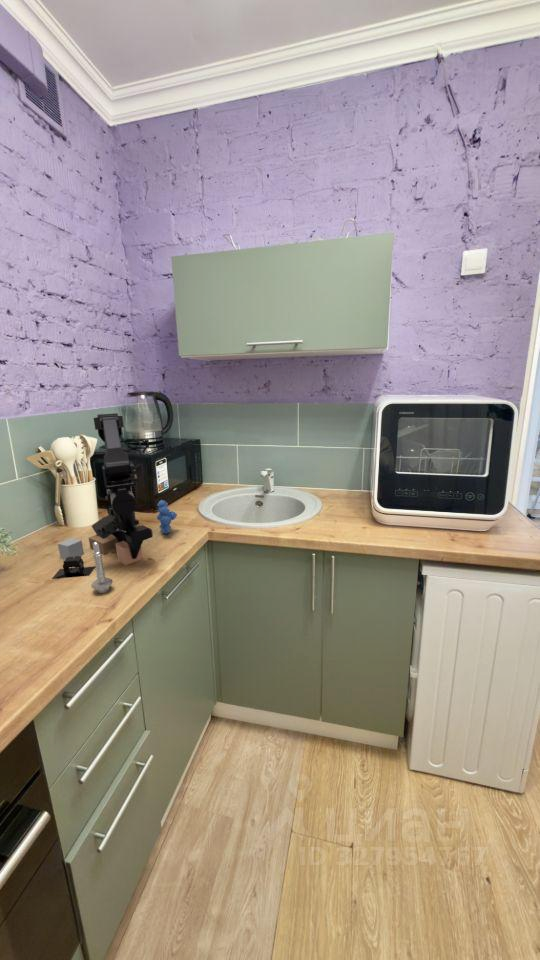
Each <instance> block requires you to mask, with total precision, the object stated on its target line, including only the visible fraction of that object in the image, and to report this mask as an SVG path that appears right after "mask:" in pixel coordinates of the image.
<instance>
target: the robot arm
mask: <svg viewBox="0 0 540 960" xmlns="http://www.w3.org/2000/svg"><path fill="white" fill-rule="evenodd" d="M96 416H97V417H93V423H94V430H95V431H97V434H98V437H99V438H100V439H101V441H102V442H104V447H105V455H104V456H103V464H102V465H101V469H102V475H103V476H102V477H103V482H104V489H105V490H106V495H105V503H106V505H105V506H106V508H107V509H106V510H107V515H106V516H104V517H102V518H101V519H99V520H97V521H96V522H95V523H93V524H92V525H91V528H92V530H93V531H94V533H95V534H96V535H97V536H99V537H101V538H102V539H104V538H107V537H108V536H109V535H113V536H115V538H116V540H117V542H118V543H119V542H122V541H125V542H127V543H128V546H129V549H130V553H131V556H132V559H135V558H137V555H138V553H139V550H140V547H141V548H142V545H143V543H144V541H146V540H148V539H151V538H153V537H154V533H153V529H151V528H150V527H149V526H145V525H143V524H141V525H140V520H139V519H137V518H136V511H138V506H137V501H136V499H135V495H134V493H133V490H132V486H136V485H137V483H136V482H138V476H137V471H136V466H135V465H134V463H133V462H132V461H130V459H129V453H127V452H125V450H124V451H123V447H122V443H121V442H122V441H121V437H122V435H123V431H122V430H123V429H122V428H125V425H124V418H123V415H119V414H118V412H117V413H116V412H113V413H100V414H97V415H96ZM137 525H139V526H137Z"/></svg>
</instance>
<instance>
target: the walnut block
mask: <svg viewBox="0 0 540 960" xmlns="http://www.w3.org/2000/svg"><path fill="white" fill-rule="evenodd" d="M88 540H89V542H88V543H89V548H90V550H93V551H94V549H93V543H94V542H97V543H99V550H101V555H102V556H106V555H109V554H111V553H114V552H117V550H116V543H118V542H117V540H116V538H115V536H113V535H109V536H108V537H107V538H104V539H102V538H101V537H99V536H97V534H96V535H92V536H90V537H88Z"/></svg>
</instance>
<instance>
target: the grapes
mask: <svg viewBox="0 0 540 960" xmlns="http://www.w3.org/2000/svg"><path fill="white" fill-rule="evenodd" d="M168 505H169V503H168V502H167V501H166V500H163V499H161V500H159V501H158V503H157V505H156V506H157V507H158V508H157V510H156V511H157V512H158V515H157V516H156V519H157V520H158V521H159V522H160V525H159V528H160V532H161V533H162V534H164V535H167V534H169V532H171V528H172V526H171V525H170V524H171V523H172V521H173V520H175V519H176V518H177V517H178V514H177V513H176V512H175V511H173V510H170V508H168Z"/></svg>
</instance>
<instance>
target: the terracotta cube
mask: <svg viewBox="0 0 540 960" xmlns="http://www.w3.org/2000/svg"><path fill="white" fill-rule="evenodd" d="M142 549H143V548H142V546H141V547H140V550H139V553H138V555H137V558H135V559H132V556H131V553H130V549H129V546H128V543H127V542H125V541H122V542H119V543H116V555H117V560H118V561H119V562H121V563H122V564H124V565H125V566H126V565H127V566H128V565H130V564H133V563H135V562H138V561H141V560H143V559H144V558H143V550H142Z"/></svg>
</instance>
